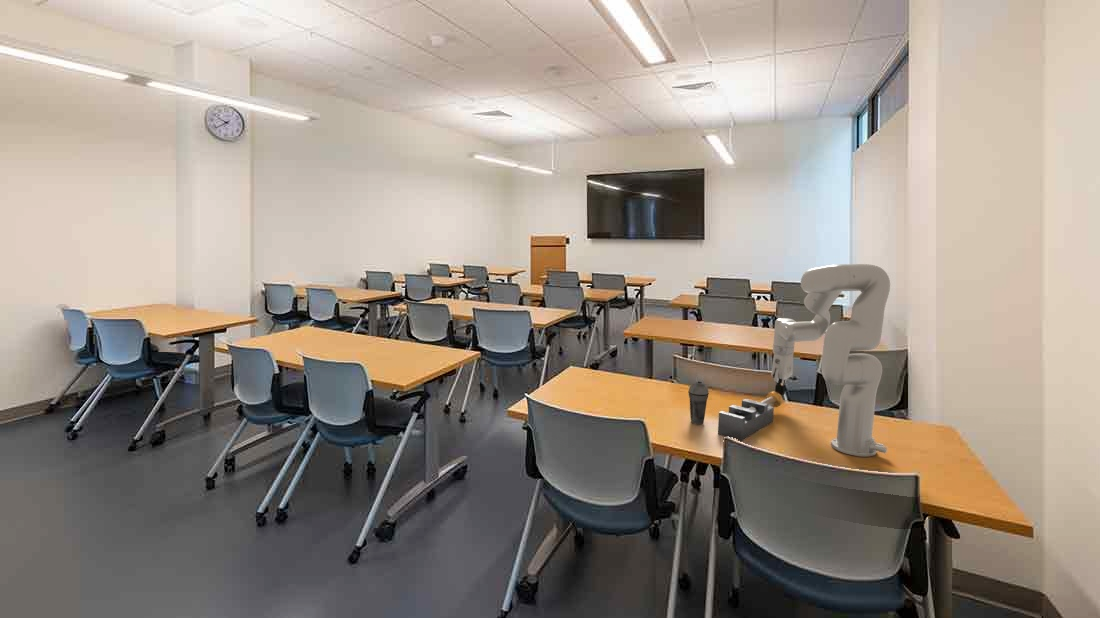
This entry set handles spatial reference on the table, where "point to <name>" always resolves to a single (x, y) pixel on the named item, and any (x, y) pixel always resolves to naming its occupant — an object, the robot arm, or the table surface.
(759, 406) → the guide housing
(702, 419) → the beverage cup
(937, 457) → the table surface
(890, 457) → the table surface
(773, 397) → the shaft
